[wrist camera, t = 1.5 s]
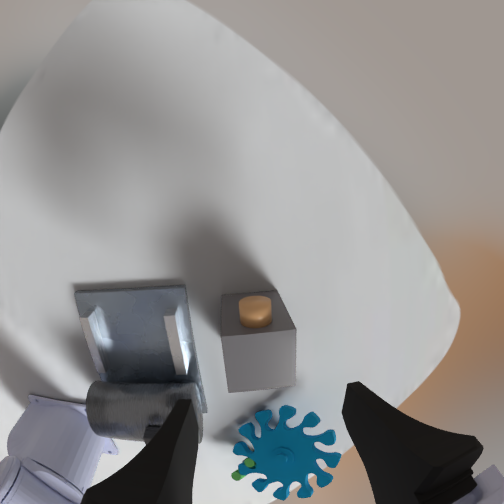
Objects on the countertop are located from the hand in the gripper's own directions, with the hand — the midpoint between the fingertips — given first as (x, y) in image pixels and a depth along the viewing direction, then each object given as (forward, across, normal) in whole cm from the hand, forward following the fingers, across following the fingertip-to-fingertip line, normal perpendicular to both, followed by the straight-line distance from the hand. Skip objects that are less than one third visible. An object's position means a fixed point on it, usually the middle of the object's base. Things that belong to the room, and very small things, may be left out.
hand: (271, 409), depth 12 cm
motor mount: (+9, +9, +3) cm, 14 cm away
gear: (+10, -1, +13) cm, 16 cm away
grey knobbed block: (+10, 0, 0) cm, 10 cm away
